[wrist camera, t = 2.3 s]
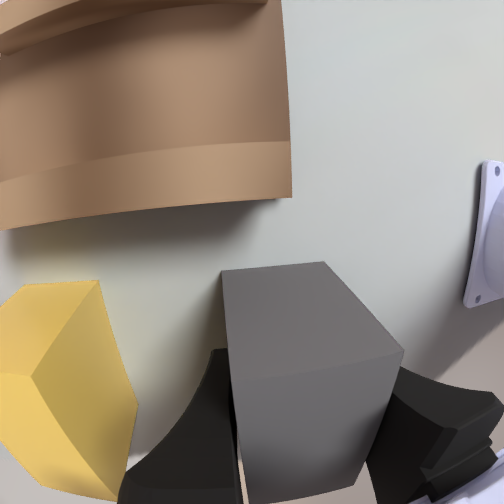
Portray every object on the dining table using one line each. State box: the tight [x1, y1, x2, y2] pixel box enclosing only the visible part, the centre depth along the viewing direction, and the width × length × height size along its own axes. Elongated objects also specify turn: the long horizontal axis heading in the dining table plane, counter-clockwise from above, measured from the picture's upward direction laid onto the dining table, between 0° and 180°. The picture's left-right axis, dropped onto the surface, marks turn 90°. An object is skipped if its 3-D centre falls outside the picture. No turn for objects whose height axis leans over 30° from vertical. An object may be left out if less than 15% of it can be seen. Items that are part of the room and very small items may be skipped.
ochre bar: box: [0, 280, 138, 502], centre depth 9 cm, size 7×4×6 cm, turn 3°
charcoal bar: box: [222, 261, 404, 504], centre depth 10 cm, size 7×4×6 cm, turn 3°
